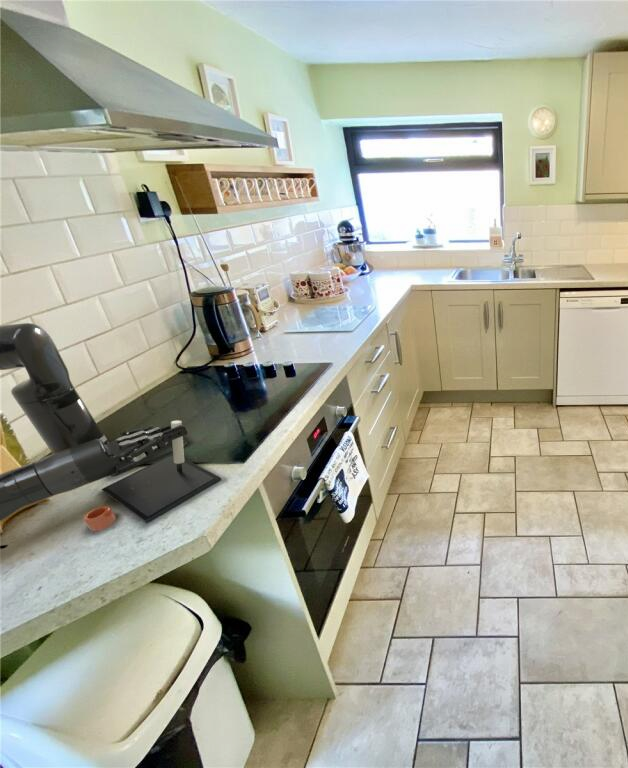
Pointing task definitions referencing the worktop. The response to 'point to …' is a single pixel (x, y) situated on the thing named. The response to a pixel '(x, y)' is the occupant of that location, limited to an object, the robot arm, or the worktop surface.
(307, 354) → the worktop surface
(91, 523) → the orange hollow cylinder
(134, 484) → the tablet
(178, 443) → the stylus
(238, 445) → the worktop surface
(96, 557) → the worktop surface
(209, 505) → the worktop surface
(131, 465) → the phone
